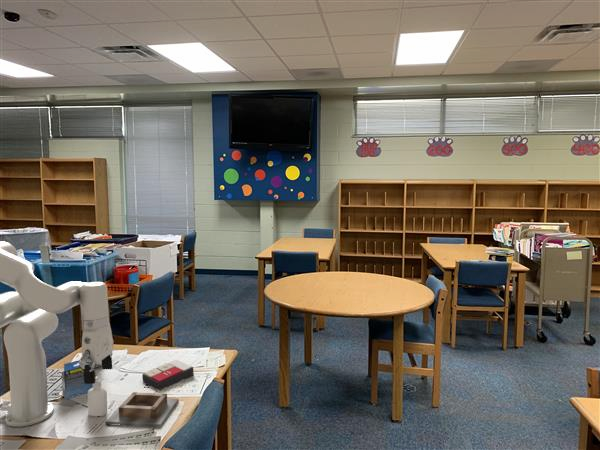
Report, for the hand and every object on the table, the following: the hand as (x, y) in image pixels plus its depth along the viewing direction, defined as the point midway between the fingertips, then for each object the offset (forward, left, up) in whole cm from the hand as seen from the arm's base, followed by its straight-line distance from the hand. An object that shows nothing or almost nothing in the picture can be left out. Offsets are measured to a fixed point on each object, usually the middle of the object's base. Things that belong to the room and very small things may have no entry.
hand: (98, 375), depth 128 cm
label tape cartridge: (-15, +12, -13) cm, 23 cm away
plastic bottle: (-21, +33, -13) cm, 41 cm away
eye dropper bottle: (-1, 0, -13) cm, 13 cm away
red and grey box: (+12, +25, -13) cm, 31 cm away
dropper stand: (+13, +2, -12) cm, 18 cm away
